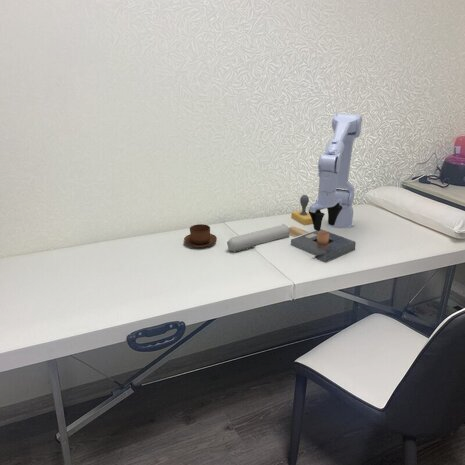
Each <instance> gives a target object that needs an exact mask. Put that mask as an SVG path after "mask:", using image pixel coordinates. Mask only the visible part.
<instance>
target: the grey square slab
mask: <svg viewBox="0 0 465 465" xmlns="http://www.w3.org/2000/svg"><path fill="white" fill-rule="evenodd" d="M320 231H327V230H325V229H322V228H321V229H320ZM327 232H329V243H328V244H326V245H322V244H320V243H317V236H318V231H317V230H314V231H311V232H308V233H305V234H302V235H299V236H297V237H293V238H292V239H290V246H293V247H295V248H297V249H299V250H302V251H304V252H306V253H309V254H311V255H314V256H313V258H315V259H316V258H317V259H316V260H318V261H320V262H321V261H322V262H324V263H328V262H331V261H332V260H334V259H337V258H339V257H341V256H343V255H346V254H348V253H350V252H353V251H355V250H356V244H357V242H356V241H355V240H352V239H349V238H347V237H344V236H340V235H338V234H335V233H334V232H330V231H327Z"/></svg>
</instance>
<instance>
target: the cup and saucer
mask: <svg viewBox="0 0 465 465" xmlns="http://www.w3.org/2000/svg"><path fill="white" fill-rule="evenodd" d="M183 242H184V243H185V244H186V245H188V246H190V247H194V248H205V247H210V246H212V245H213V244H215V243H217V236H216V235H215V234H212V233H211V226H209V225H207V224H202V223H201V224H194V225H191V226H190V227H189V234H188V235H186V236H185V237H184V238H183Z"/></svg>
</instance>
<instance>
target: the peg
mask: <svg viewBox="0 0 465 465" xmlns="http://www.w3.org/2000/svg"><path fill="white" fill-rule="evenodd" d="M329 232H330V231H328V232H327V230H325V231H318V236H317V243H320V244H322V245H326V244H328V243H329Z"/></svg>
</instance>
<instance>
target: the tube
mask: <svg viewBox="0 0 465 465" xmlns="http://www.w3.org/2000/svg"><path fill="white" fill-rule="evenodd" d="M289 228H290V227H288V225H287V224H284V223H282V224H281V225H277V226H272V227H270V228H264V229H261V230H256V231H253V232H249V233H244V234H241V235H236V236H233V237H230V238H229V240H227V242H226V244H227V248H228V250H229V251H230V252H233V251H236V252H240V251H243V250H242V249H244V250H247V248H248V249H251V248H254V247H257V246H258V245H262V244H264V243H269V242H272V241H277V240H281V239H284V238H289V236H290V230H289ZM290 237H291V236H290ZM239 250H240V251H239Z"/></svg>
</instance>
